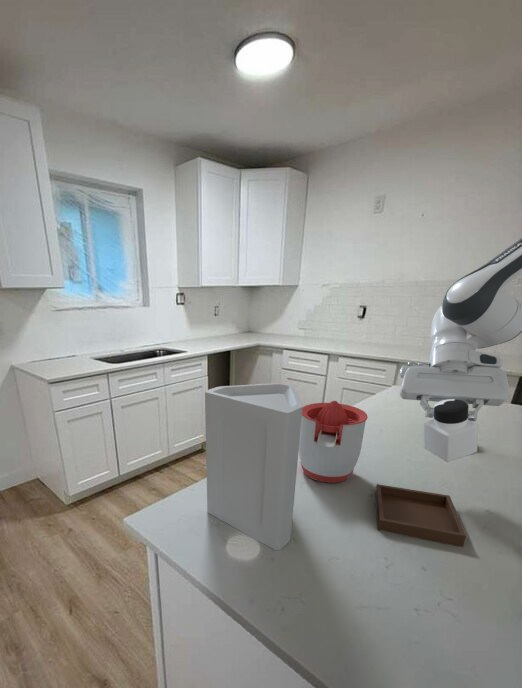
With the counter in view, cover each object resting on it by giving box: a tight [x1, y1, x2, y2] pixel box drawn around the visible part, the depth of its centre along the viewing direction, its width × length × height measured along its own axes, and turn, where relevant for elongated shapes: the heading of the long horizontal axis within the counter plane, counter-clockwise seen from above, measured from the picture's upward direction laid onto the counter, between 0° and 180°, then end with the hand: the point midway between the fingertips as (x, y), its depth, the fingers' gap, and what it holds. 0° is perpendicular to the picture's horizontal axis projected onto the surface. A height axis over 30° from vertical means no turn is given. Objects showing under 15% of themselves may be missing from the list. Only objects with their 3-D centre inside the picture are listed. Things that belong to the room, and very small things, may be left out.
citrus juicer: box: [298, 400, 369, 484], centre depth 91 cm, size 16×17×20 cm
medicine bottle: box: [423, 399, 480, 463], centre depth 79 cm, size 7×7×12 cm
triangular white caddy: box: [204, 382, 304, 551], centre depth 74 cm, size 19×15×28 cm
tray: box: [374, 483, 467, 548], centre depth 77 cm, size 15×15×3 cm
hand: (450, 418), depth 79 cm, fingers closed on medicine bottle, 6 cm apart
